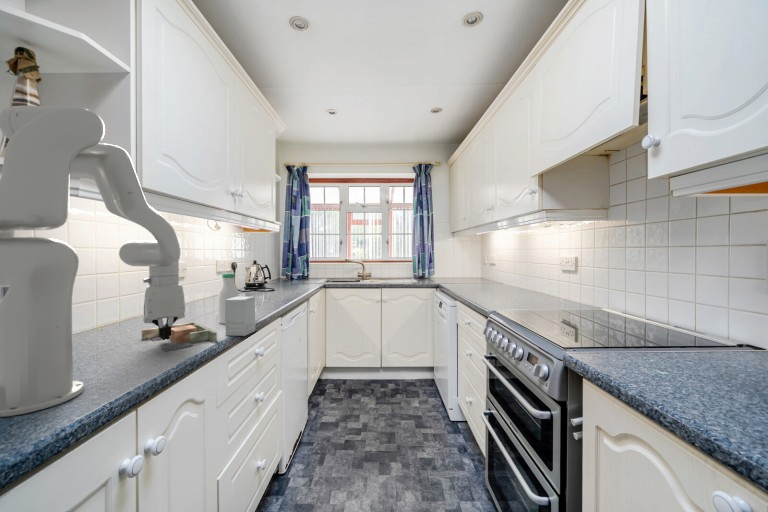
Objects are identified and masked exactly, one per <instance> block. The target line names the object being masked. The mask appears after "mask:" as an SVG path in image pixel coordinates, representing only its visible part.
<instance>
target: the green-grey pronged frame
mask: <svg viewBox="0 0 768 512" xmlns="http://www.w3.org/2000/svg"><path fill="white" fill-rule="evenodd" d="M188 325H192V326H194V327H196V328H197V332H193V333H190V341H189V343H191V344H192V343H197V342H203V341H210V342H212V343H216V342H217V341H218V337H217V336H218V335H217V333H218V332H217V331H215V330H213V329H211V328H209V327H208V326H207V327H206V326H204V325H203V324H200V323H198V322H191V321H190V322H187V323H177V324H173V325H172V326H171V328H175V327H181V326H188ZM156 336H159V328H158V327H151V328H147V329H146V328H145V329H141V340H142V339H143V340H147V339H146V338H149V339H150V338H151V337H156Z"/></svg>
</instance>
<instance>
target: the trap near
mask: <svg viewBox="0 0 768 512" xmlns="http://www.w3.org/2000/svg"><path fill="white" fill-rule="evenodd" d="M191 347H194V345H193V344H192V343H190V341H186V342H181V343H176V344H173V345H168V346H163V347H162V346H161V349H162V350H163V351H164V352H166V353H167V352H171V351H176V350H177V351H178V350H181V349H185V348H191Z"/></svg>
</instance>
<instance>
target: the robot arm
mask: <svg viewBox="0 0 768 512" xmlns="http://www.w3.org/2000/svg"><path fill="white" fill-rule="evenodd" d="M0 131H1V132H2V134H3V135H4V136H5V137H6V138H7V139H8V141H7V144H6V147H5V150H4V155H3V164H2V171H1V178H0V288H8V289H7V291H6V292H5V294H4V295H3V297H2V298H1V300H0V418H4V417H13V416H18V415H24V414H28V413H33V412H37V411H40V410H44V409H47V408H50V407H54V406H57V405H61V404H63V403H65V402H68V401H69V400H71V399H73V398H75V397H77V396H78V395H79V396H80V394H82V392H83V391H84V389H85V388H84V387H85V384H84V382H82V381H80V380H79V381H78V380H74V363H73V362H74V360H73V359H74V356H73V353H74V349H73V348H74V347H73V346H74V345H73V341H74V339H73V291H74V285H75V282H76V278H77V277H76V276H77V273H78V269H79V265H80V264H79V256H78V253H77V252H76V250H75V249H74V248H73V247H72V246H71V245H69V244H68V243H66V242H64V241H62V240H59V239H55V238H51V237H40V236H39V237H38V236H36V237H35V236H32V237H31V236H26V237H25V236H24V237H23V236H19V237H18V236H15V233H16V231H49V230H50V231H51V230H54V229H58V228H60V227H63V226H64V225H65V224H66V222H67V220H68V218H69V210H70V178H73V179H93V180H94V182H95V184H96V187H97V190H98V191H99V194H100V195H101V199H102V201H103V203H104V205H105V208H106V209H107V211H108V212H109V213H111V214H113V215H115V216H118V217H119V218H122V219H125V220H127V221H130V222H132V223H134V224H137V225H139V226H140V227H142V228H144V229H146V230H147V231H148V232H149V233H150V234H151V235H152V236H153V238H154V239H155V240H153V239H151V240H149V239H148V240H130V241H127V242H125V243H124V244H123V245H122V246H121V247H120V249H119V252H118V255H119V259H120V260H121V261H122V262H123V263H124V264H126V265H128V266H131V267H149V268H148V271H149V272H148V273H149V276H147V277H146V278H143V279H142V282H143V284H148V285H147V286H146V289H145V293H144V300H143V301H144V302H143V316H144V317H143V320H142V322H143V323H144V324H153V325H155V326H157V328H159V338H160V337H161V339H162V340H161V341H166V340H170V338H169V336H171V326H172V325H174V323H176V322H177V321H178V320H181V319H184V318H185V317H186V316H185V315H186V314H185V313H186V302H185V294H184V289H183V285H182V284H180V276H179V273H180V272H179V267H180V265H179V261H180V257H181V248H180V243H179V240H178V237H177V233H176V231H175V229H174V227H173V226H172V225H171V223H170V222H169V221H168V220H167V219H166V218H165V217H164V216H163V215H161V213H160V212H158V211H157V210H156V209H155V208H153V207H152V206H151V205H149V204H148V202H147V200H146V198H145V195H144V192H143V188H142V185H141V183H140V180H139V177H138V175H137V172H136V169H135V166H134V163H133V161H132V159H131V156H130V155H129V153H128V151H126V149H124V148H122V147H120V146H118V145H116V144H115V145H113V144H109V143H101V141H102V140H103V139H104V136H105V133H106V127H105V123H104V121H103V119H102V118H101V117H100V116H99V115H98V114H97V112H94V111H92V110H89V109H87V108H84V107H80V106H71V105H70V106H68V105H67V106H66V105H65V106H64V105H13V106H9V107H8V106H7V107H5V108H3V109H2V110H1V111H0ZM163 319H166V321H165V324H164V320H163Z"/></svg>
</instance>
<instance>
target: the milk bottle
mask: <svg viewBox="0 0 768 512" xmlns="http://www.w3.org/2000/svg"><path fill="white" fill-rule="evenodd" d="M221 276H222V278H221V279H222V284H221V286H220V288H219V290H218V295H217V313H218V314H217V318H218V319H217V321H218V322H217V323H219V324H223V325H225V300H226V299H230V298H233V297H240V292H239V289H238V286H237V285H236V282H235V279H236V275H235V273H233V272H232V273H229V272H227V273H223V274H221Z"/></svg>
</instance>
